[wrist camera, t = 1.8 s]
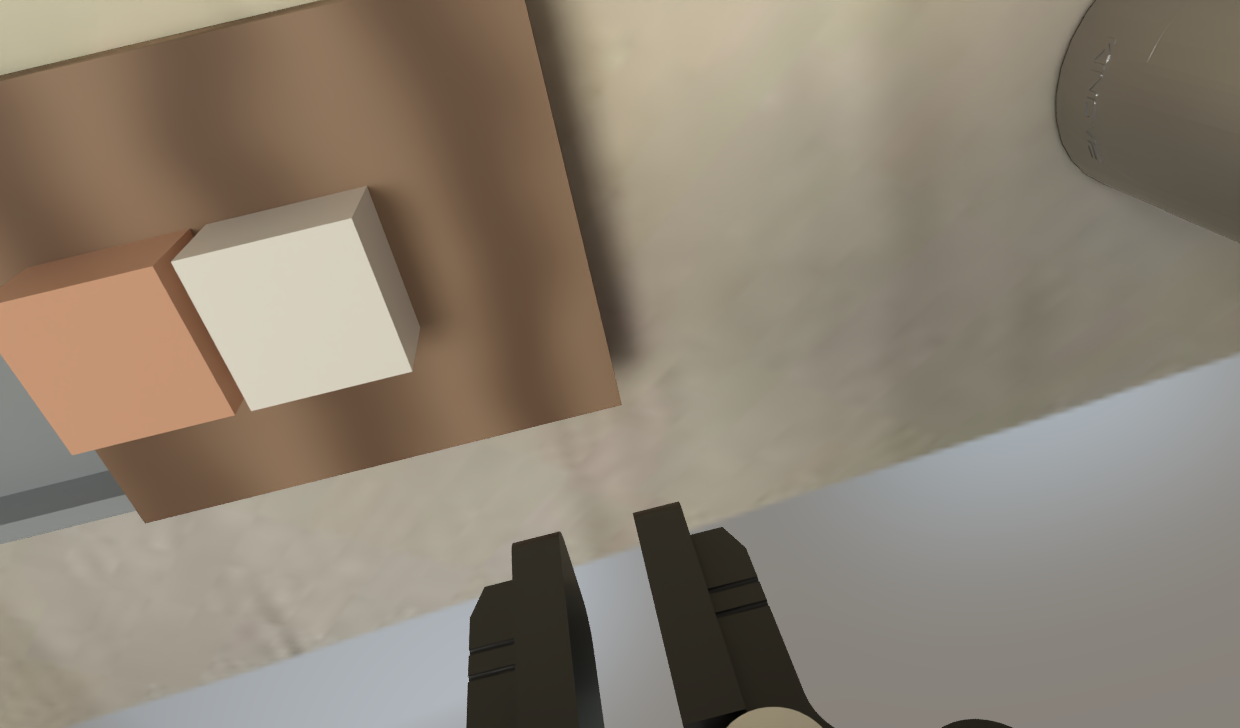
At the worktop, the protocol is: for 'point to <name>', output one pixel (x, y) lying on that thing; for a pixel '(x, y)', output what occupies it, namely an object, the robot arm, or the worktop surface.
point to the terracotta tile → (114, 345)
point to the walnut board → (315, 167)
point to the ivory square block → (302, 298)
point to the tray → (46, 472)
